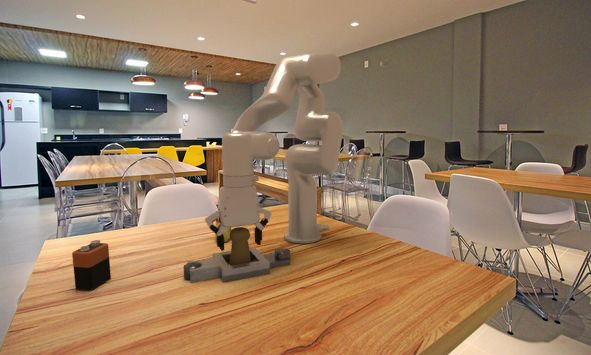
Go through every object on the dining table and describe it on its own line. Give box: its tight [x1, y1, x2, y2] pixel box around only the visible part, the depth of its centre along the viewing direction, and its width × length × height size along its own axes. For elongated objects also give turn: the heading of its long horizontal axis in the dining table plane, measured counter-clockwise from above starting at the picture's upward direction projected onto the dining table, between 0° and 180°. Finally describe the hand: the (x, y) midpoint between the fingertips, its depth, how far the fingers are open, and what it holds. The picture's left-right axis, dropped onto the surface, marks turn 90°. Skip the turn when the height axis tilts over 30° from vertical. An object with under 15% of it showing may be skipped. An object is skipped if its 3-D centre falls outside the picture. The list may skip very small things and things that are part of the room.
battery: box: [71, 239, 112, 291], centre depth 78 cm, size 4×7×10 cm, turn 172°
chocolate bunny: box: [212, 200, 232, 243], centre depth 112 cm, size 7×11×15 cm, turn 2°
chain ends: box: [183, 247, 291, 284], centre depth 88 cm, size 28×12×3 cm, turn 115°
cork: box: [228, 226, 251, 266], centre depth 87 cm, size 6×6×11 cm
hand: (240, 246), depth 87 cm, fingers open, 9 cm apart
